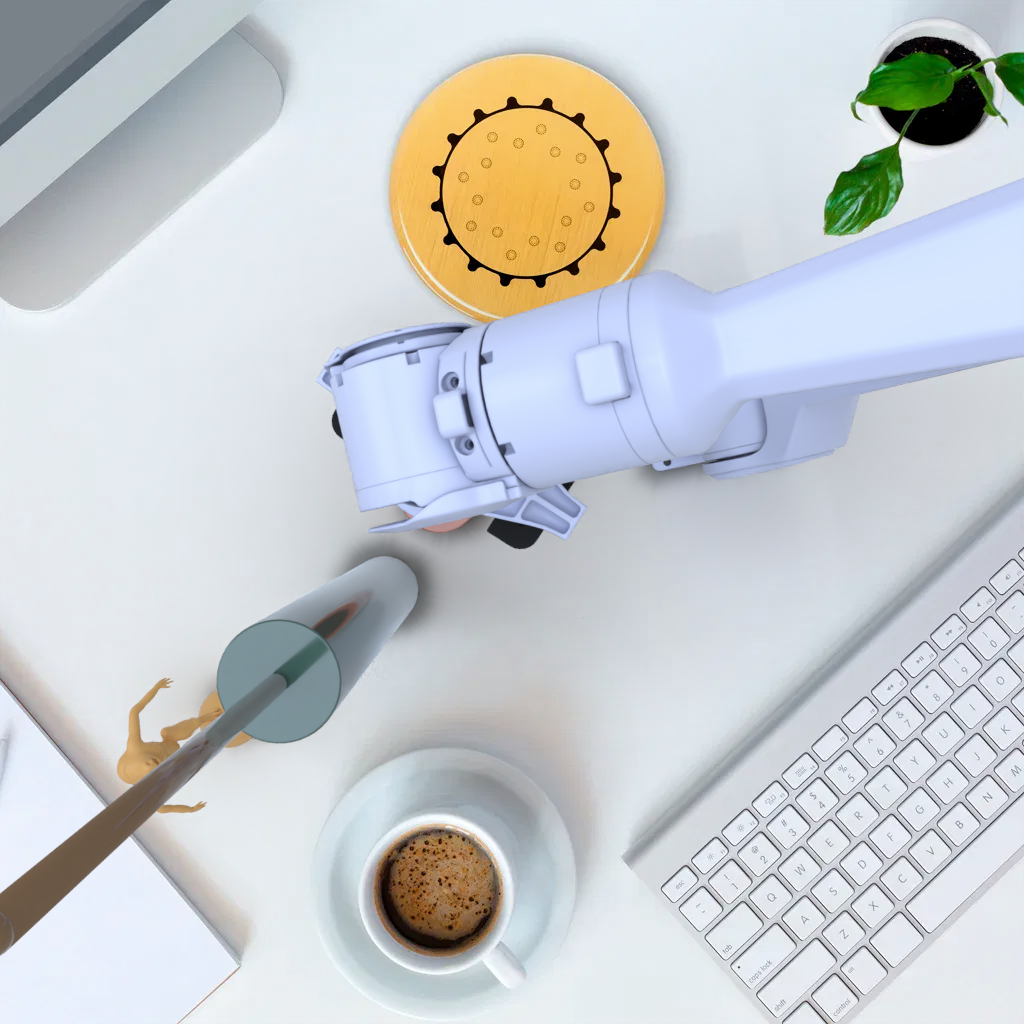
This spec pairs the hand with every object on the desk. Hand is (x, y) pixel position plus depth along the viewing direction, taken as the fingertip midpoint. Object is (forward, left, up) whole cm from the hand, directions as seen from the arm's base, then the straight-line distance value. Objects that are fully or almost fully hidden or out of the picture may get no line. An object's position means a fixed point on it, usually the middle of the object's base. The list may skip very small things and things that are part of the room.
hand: (461, 450), depth 56 cm
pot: (+2, +2, -9) cm, 9 cm away
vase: (+8, +8, -9) cm, 14 cm away
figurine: (+20, +14, -9) cm, 26 cm away
